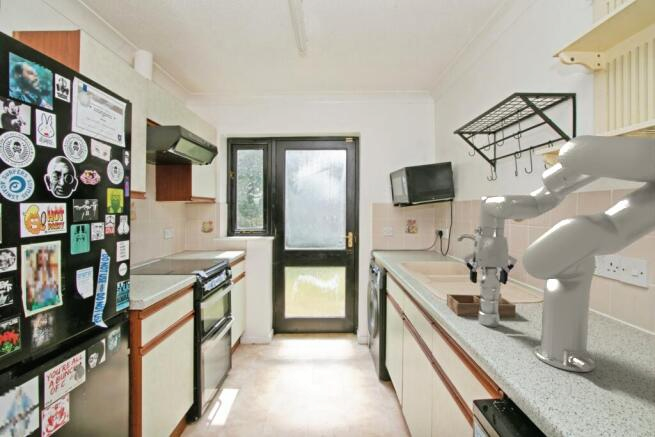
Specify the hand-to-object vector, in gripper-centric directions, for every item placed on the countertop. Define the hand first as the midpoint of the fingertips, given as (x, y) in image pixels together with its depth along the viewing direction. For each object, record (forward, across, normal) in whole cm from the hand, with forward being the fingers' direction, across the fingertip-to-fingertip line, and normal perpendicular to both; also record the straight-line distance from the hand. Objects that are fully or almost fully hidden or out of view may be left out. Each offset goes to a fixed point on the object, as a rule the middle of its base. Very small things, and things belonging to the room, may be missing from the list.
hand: (488, 282), depth 103 cm
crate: (+15, +3, +12) cm, 19 cm away
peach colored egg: (+14, +8, +12) cm, 20 cm away
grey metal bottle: (+15, 0, -1) cm, 15 cm away
